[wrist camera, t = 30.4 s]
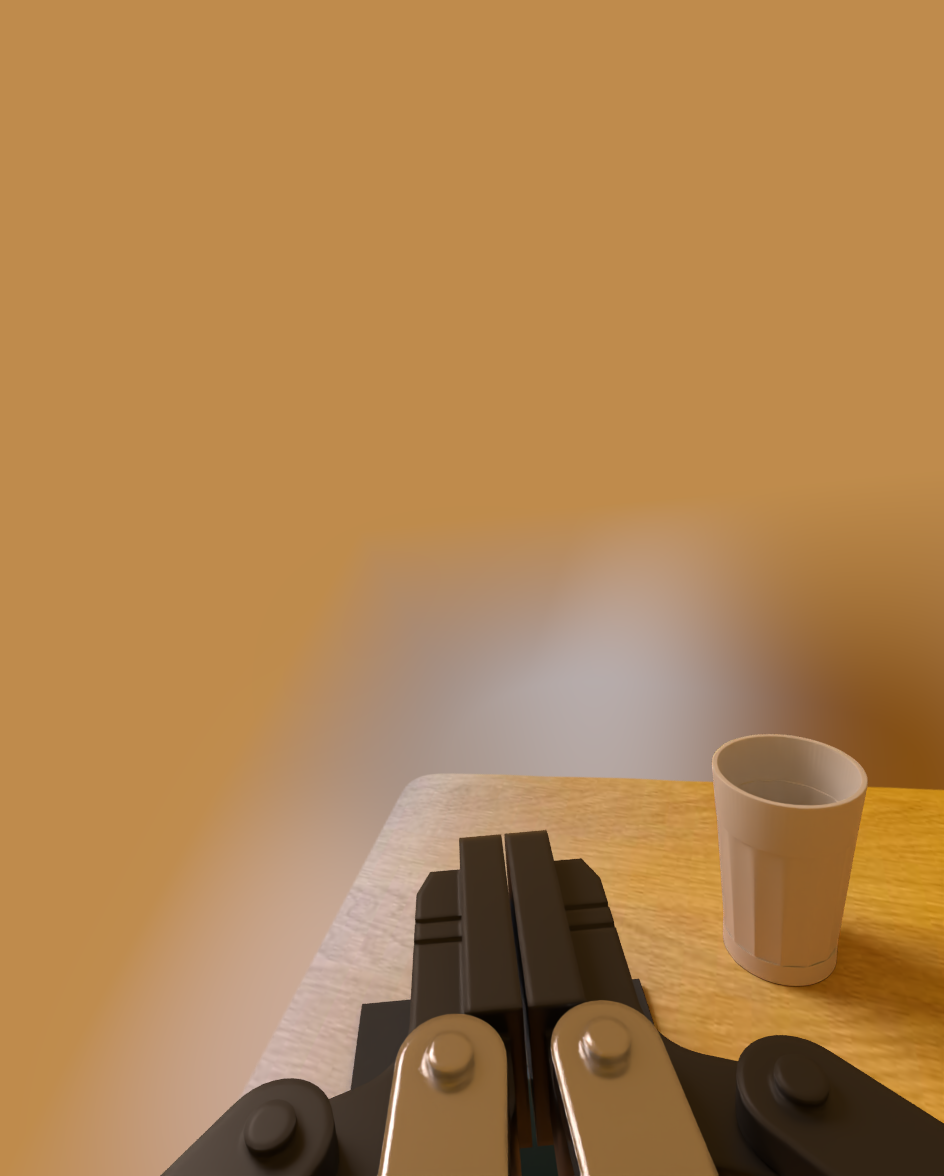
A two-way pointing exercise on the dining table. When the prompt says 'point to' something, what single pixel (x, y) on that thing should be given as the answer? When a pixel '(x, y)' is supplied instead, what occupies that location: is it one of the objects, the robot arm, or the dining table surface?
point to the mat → (400, 1035)
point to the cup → (785, 852)
